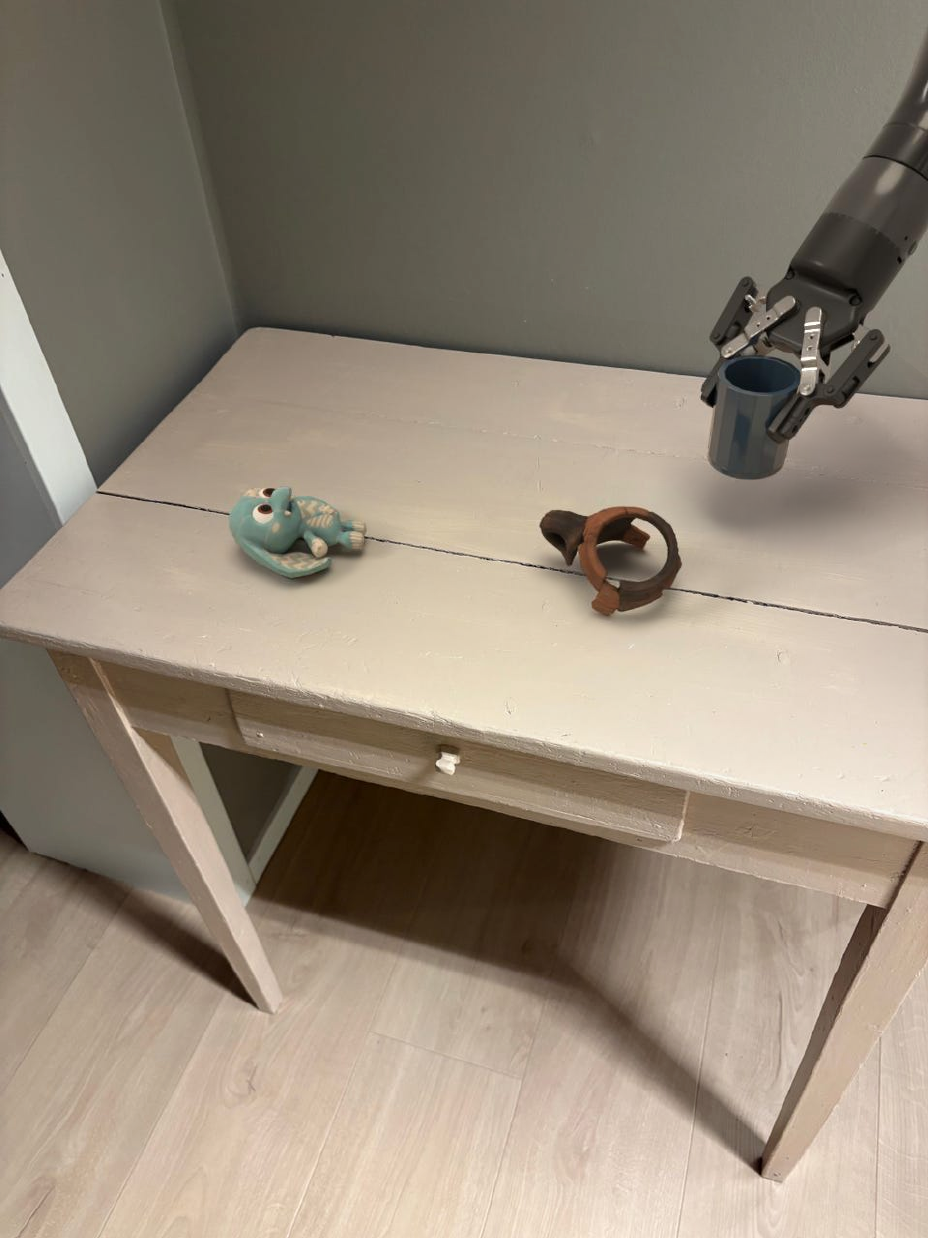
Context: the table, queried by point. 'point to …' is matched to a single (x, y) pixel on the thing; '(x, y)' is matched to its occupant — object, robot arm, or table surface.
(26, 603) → the table surface
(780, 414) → the robot arm
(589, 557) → the brown broken clay pot
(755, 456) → the cup
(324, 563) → the stuffed animal
